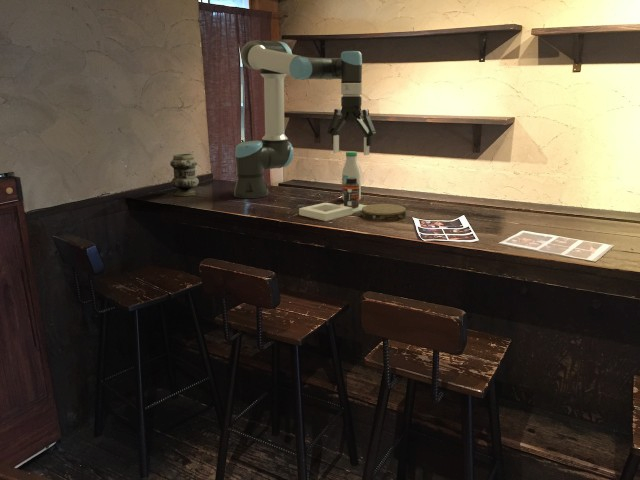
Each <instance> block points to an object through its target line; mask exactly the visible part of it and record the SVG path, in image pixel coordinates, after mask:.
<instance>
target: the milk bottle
mask: <svg viewBox="0 0 640 480" xmlns="http://www.w3.org/2000/svg"><path fill="white" fill-rule="evenodd" d="M357 157H358V152H357V151H346V152H345V158H346V160H345V162H344V165H343V168H342V172H341V173H342V174H341V199H342V200H343V201H344V184H345V183H346V182H347V181H346V178H349V177H353V178H357V183H358V184H359V201H360V200H361V198H362V196H361V195H362V194H361V193H362V191H361V189H362V188H361V187H362V186H361V185H362V183H361V179H362V174H361V173H362V172H361V169H360V166H359V164H358V160H357V159H358V158H357Z"/></svg>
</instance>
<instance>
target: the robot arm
mask: <svg viewBox="0 0 640 480" xmlns="http://www.w3.org/2000/svg"><path fill="white" fill-rule="evenodd" d="M362 55H363V54H362V53H361V52H360V51H358V50H346V51H344V50H343V51H342V52H341V54H340V57H332V58H331V57H308V56H302V55H297V54H293V53H292V49H291V48H290V47H289V45H288V44H287V43H286V42H283V41H278V40H259V39H258V40H251V41H248V42H247V43H245V44H244V45H243V47H241V51H240V58H241V59H240V60H241V62H242V63H243V65H244V66H246V67H247V68H248V69H251V70H257V71H259V72H260V76H261V77H262V78H263V87H264V88H263V91H264V92H263V94H264V96H263V97H264V132H265V133H264V136H262V137H261V140H249V141H247V140H246V141H243V142H241V143H238V144H237V145H236V146H235V153H234V154H235V155H234V156H235V165H236V177H237V179H236V182H235V186H234V189H233V195H234V197H235V198H238V199H258V198H264V197H267V196H268V195H269V188H268V185H267V182H266V180H265V175H264V171H267V170H272V169H273V170H274V169H281V168H286V167H288V166H289V165H290V164H291V163H292V161H293V159H294V147H293V145H292V143H291V142H290V141H289V137H287V136H286V134H285V78H286V77H287V76H292V77H291V78H293V79H295V80H301V81H302V80H303V81H304V80H329V81H331V80H340V81H341V82H340V85H341V86H340V87H341V89H340V91H341V92H340V93H341V95H342V96H341V98H340V107H341V109H340V108H335V109H334V111H333V116H332V119H331V122H330V123H329V127H328V128H327V133H326V134H329V135H331V144H333V145H332V147H333V150H332V151H333V154H337V153H340V135H338V134H339V132H340V131H341V130H342V128H343V126H344V125H345V124H346V122H352V123H356V124H357V126H358V127H359V129H360V130H361V131H362V133H363V134H364V137H363V156H368V155H370V147H371V146H372V137H374V136H376V135H377V132H376V131H377V130H376V129H375V127H374V123H373V121H372V118H371V117H370V116H371V115H370V111H369V109H367V108H366V109H362V96H361V95H362V92H363V90H362V85H363V84H362V81H363V80H362V75H363V74H362V73H363V57H362ZM340 116H341V117H340ZM361 116H362V117H361ZM339 118H340V119H339Z"/></svg>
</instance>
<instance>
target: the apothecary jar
mask: <svg viewBox="0 0 640 480" xmlns="http://www.w3.org/2000/svg"><path fill="white" fill-rule="evenodd" d="M169 165H170V167H171V168H173V178H172V179H171V181H170V182H171V185H172V186H174V187H175V188H177V189H180V190H178V191H177V192H175V193H174V195H175V196H176V197H177V196H178V197H186V196H187V197H189V196H195V195H197V194H198V192H197V191H195V190H194V189H193V190H192V188H195V187H197V186H198V184H199V183H200V180H199V178H197V176H196V167H197V165H198V160H197V159H196V158H195V157H194V154H193V153H187V152H185V153H183V152H182V153H180V152H179V153H174V154H173V157H172V160H171V161H170V162H169Z"/></svg>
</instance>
